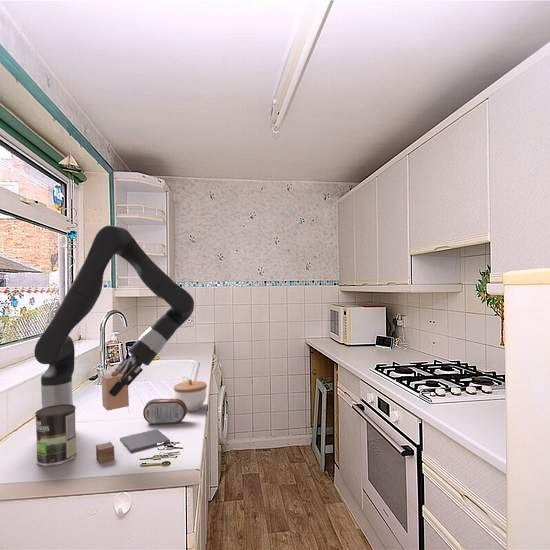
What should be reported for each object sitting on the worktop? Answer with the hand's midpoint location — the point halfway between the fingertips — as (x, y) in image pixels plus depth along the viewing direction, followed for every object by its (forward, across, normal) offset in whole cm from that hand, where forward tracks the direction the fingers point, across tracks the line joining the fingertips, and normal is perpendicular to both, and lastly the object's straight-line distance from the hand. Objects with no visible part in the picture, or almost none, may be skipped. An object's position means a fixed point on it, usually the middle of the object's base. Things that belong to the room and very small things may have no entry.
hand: (109, 392), depth 120 cm
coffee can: (+22, -8, +4) cm, 24 cm away
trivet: (+5, -5, +21) cm, 22 cm away
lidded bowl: (-12, -27, +38) cm, 48 cm away
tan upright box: (+2, 0, +4) cm, 5 cm away
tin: (-2, -17, +29) cm, 33 cm away
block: (+14, +2, +12) cm, 19 cm away
